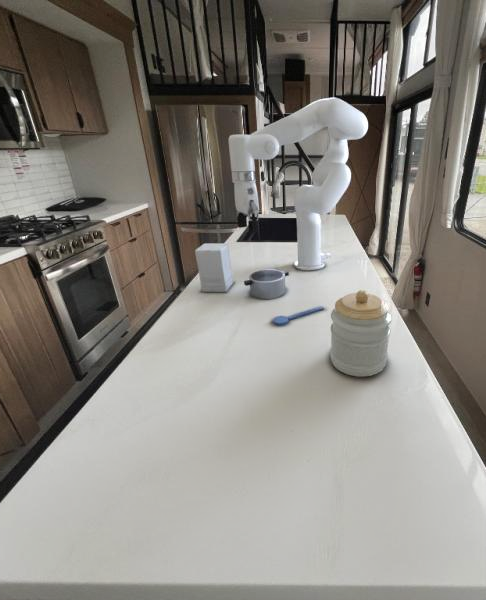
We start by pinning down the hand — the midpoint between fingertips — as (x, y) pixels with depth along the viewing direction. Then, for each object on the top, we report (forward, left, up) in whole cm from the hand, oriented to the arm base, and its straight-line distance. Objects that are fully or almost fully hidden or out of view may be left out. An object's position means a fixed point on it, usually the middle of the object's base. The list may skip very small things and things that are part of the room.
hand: (248, 229), depth 112 cm
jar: (0, +59, -19) cm, 62 cm away
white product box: (+13, -2, -19) cm, 23 cm away
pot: (0, +12, -19) cm, 23 cm away
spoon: (+1, +33, -19) cm, 38 cm away
